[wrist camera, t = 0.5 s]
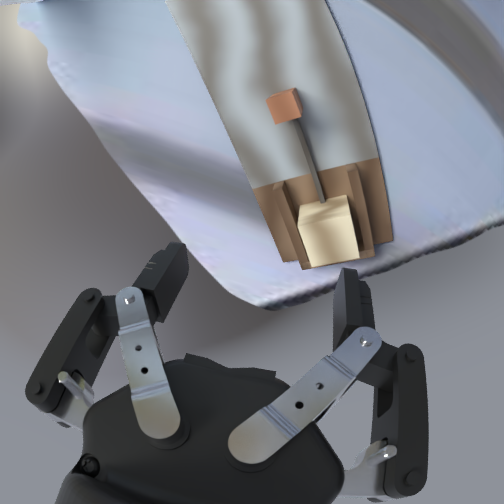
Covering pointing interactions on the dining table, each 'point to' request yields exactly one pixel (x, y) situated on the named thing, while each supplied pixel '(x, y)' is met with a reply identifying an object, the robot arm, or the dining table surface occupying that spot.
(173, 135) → the dining table surface
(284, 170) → the lane rack
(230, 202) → the dining table surface
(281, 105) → the rod-linked blocks
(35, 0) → the bottle
